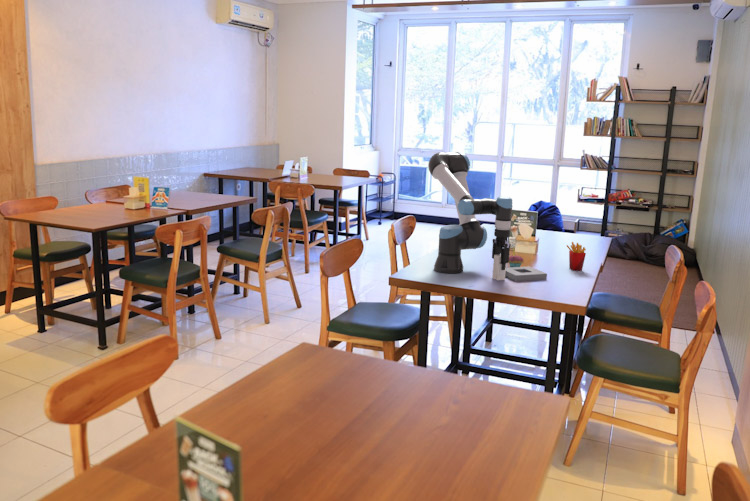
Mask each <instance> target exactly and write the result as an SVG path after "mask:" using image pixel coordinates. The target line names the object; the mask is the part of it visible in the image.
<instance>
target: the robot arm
mask: <svg viewBox="0 0 750 501" xmlns="http://www.w3.org/2000/svg"><path fill="white" fill-rule="evenodd" d="M470 168H471V163H470V159H469V157H468V156H467V155H466V153H464V152H459V151H455V152H454V151H453V152H449V151H448V152H443V151H442V152H437V153H434V154H433V155H431V157H430V158H429V161H428V171H429V173H430V175H431V176H432V178H434V179H435V180H438V181H439V183H440V184H441V185H442V187H444V189H445V190H446V191H447V192H448V193H449V195H450V196H451V198H452V199H454V200H453V201H454V204H455V208H456V213H457V216H458V220H459V224H447V225H444V226H441V228H440V229H439V234H438V249H437V250H438V252H437V253H438V254H437V257H436V260H435V262H434V266H433V270H434V271H435V272H439V273H443V274H460V273H464V265H463V261H462V255H461V254H462V250H465V251H466V250H476V249H481V248H483V247H484V246H485V245H486V242H487V240H488V231H487V229H486V228H485V227H484V226H482V225H481V222H480V221H479V220H478V219H476V215H489V214H490V215H492V216H493V215H494V216H495V220H494V221H495V222H494V234H493V235H494V237H495V238H492V251H491V253H492V254H491V258H492V259H493V260H494V255H500V254H501V262H500V268H499V276H504V275H505V265H506V266H507V264H509V257H510V250H511V243H509V242H508V238H510V237H511V225H512V215H513V214H512V212H513V198H511V197H510V196H509V197H508V196H507V197H506V196H498V197H497V198H496V199H495V198H491V197H484V198H479V199H475V198H474V197H473V196H472V195H471V194H470V189H469V186H468V181H467V177H468V173H469V171H470Z"/></svg>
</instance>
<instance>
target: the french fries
mask: <svg viewBox="0 0 750 501" xmlns="http://www.w3.org/2000/svg"><path fill="white" fill-rule="evenodd" d="M566 247H567V249H568V251H569V252H568V253H569V254H568V257H569V258H568V259H569V260H568V261H569V270H571V271H574V272H577V271H579V272H582V271H583V267H584V263H585V259H586V254H587V253H586V252H585V251H586V247H585V246H583V247H582V244H579V242H576V244H575V243H574V241H572V242H571V245H570V246H569V245H568V244H566Z"/></svg>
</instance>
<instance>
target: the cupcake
mask: <svg viewBox="0 0 750 501" xmlns="http://www.w3.org/2000/svg"><path fill="white" fill-rule="evenodd" d="M512 253H513V255H509V262H508V264H509V267H522V266H521V265H522V264H524V262H525V261H524V258H523V257H522V256H520V255H515V247H514V246H513V247H512Z"/></svg>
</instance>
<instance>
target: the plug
mask: <svg viewBox="0 0 750 501" xmlns="http://www.w3.org/2000/svg"><path fill="white" fill-rule="evenodd" d="M500 262H501V253H500V255H494V259H493V267H492V277H491V278H492V279H493V278H494V280H495V279H496V280H495V281H505V280H506V277H505V275H504V276H499V268H500ZM506 268H507V264H506V265H505V273H506Z"/></svg>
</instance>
